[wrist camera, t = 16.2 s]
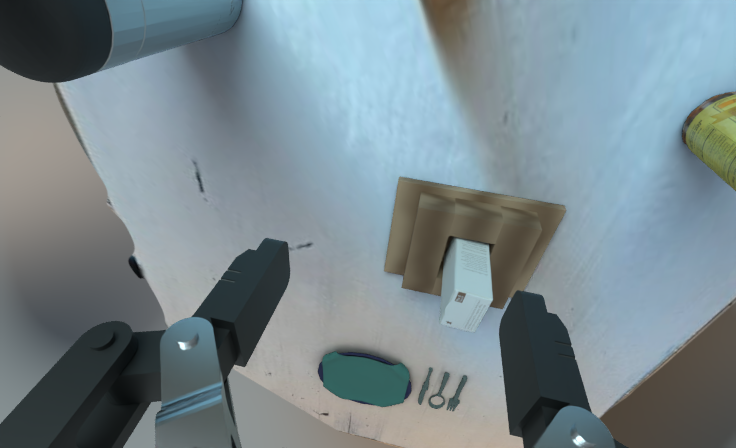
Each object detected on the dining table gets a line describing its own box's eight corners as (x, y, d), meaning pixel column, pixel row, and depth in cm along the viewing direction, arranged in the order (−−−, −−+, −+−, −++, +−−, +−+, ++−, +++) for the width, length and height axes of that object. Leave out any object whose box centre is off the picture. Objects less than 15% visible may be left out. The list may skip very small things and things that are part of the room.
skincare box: (473, 263, 49) (476, 336, 39) (441, 255, 49) (437, 326, 40) (489, 229, 45) (497, 302, 35) (455, 221, 45) (453, 290, 36)
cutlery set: (318, 336, 69) (315, 347, 68) (472, 367, 66) (473, 379, 64) (321, 386, 82) (318, 395, 80) (451, 414, 78) (451, 425, 77)
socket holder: (385, 266, 54) (380, 288, 50) (399, 176, 44) (394, 195, 41) (518, 294, 52) (522, 318, 48) (564, 205, 42) (574, 228, 38)
